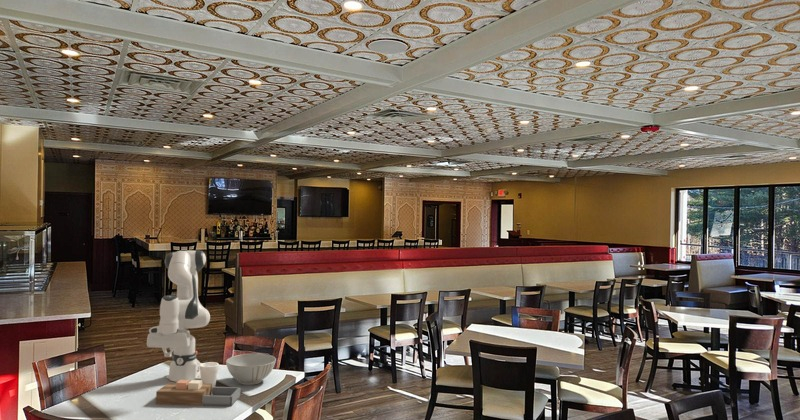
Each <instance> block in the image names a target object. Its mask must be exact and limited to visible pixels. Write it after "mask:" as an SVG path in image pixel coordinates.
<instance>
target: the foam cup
mask: <svg viewBox="0 0 800 420" xmlns="http://www.w3.org/2000/svg"><path fill="white" fill-rule="evenodd" d="M219 369H220V364H219V363H218V362H216V361H215V362H214V361H209V362H203V363H200V374H201V379H200V380H202V383H203V384H212V387H216V384H217V378H218V373H219Z"/></svg>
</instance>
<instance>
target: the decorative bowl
mask: <svg viewBox="0 0 800 420" xmlns="http://www.w3.org/2000/svg"><path fill="white" fill-rule="evenodd" d="M276 362H277V358H276V357H275V356H273V355H270V354H266V353H265V354H264V353H243V354H238V355H237V354H236V355H234V356H230V357H229V358H227V359H226V360H225V365H226V367H227V370H228V372H229V374H230V375H231V377H233V378H234V379H235V380H236V381H238V383H239V384H240V385H245V386H252V385H257V384H260V383H262V382H263V380H264V379H265V378H267V377H268V376H269V375H270V374H271V373H272V371H273V369H274V366H275V364H276Z"/></svg>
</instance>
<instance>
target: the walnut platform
mask: <svg viewBox="0 0 800 420" xmlns="http://www.w3.org/2000/svg"><path fill="white" fill-rule="evenodd" d="M176 383H177V382H167V383H166V384H164V385H163V386H161V388H160V389H158V390H156V393H155V404H156V405H172V406H173V405H176V406H178V405H180V406H203V395H212V384H203V383H202V387H201V388H200V389H198V390H194V389H188V388H187V389H176Z"/></svg>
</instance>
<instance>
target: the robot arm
mask: <svg viewBox="0 0 800 420" xmlns="http://www.w3.org/2000/svg"><path fill="white" fill-rule="evenodd" d="M206 261H207V257H206V254H205V252H204V251H203V250H199V249H196V250H190V249H189V250H177V251H175V252H174V251H172V252H168V253H167V254H166V255H165V259H164V266H165V268H166V269H167V277H168V279H169V280H170V282H172V283H173V284H175V285H176V286H177V288H176V295H175V294H168V295H164V296H162V298H161V301H160V305H159V309H158V311H159V312H158V315H159V316H160V319H159V323H158V325H156V326H152V327H150V328H149V329H148V332H149V333H148V334H147V338H146V346H147V348H158V349H160V348H161V350H162V352H163V355H164V357H165V358H168V357H169V358H171V357H172V361H171V362H170V364H169V369H168V370H169V371H168V375H166V378H165V379H168V380H169V381H170V382H173V383H177V382H178V381H179V380H190V381H192V380H201V374H200V364H201V362H200V360H198V358H197V355H198V350H196V338H195V336H193V335H192V334H191V332H190V331H189V329H198V328H199V329H200V328H203V327H206V326H207V325H209V323H210V321H211V315H210V312H209V310H208V309H207V308H206V307H204V306H203V305H202V303H201V302H200V300H199V292H198V291H199V276H198V273H199V272H200V271H201V270H202V269H203V268H204V267H205V265H206ZM167 349H169V352H168V351H167Z"/></svg>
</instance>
